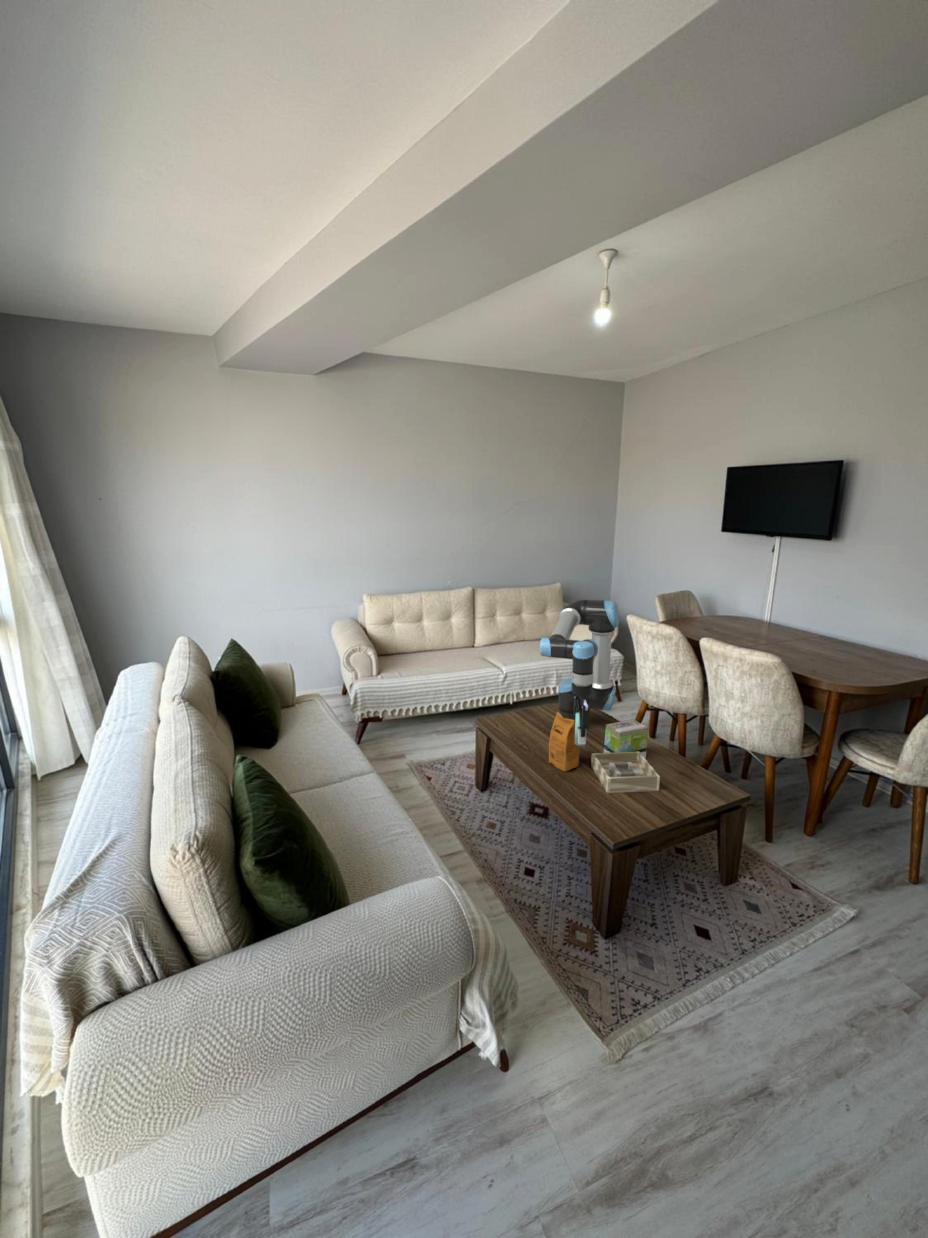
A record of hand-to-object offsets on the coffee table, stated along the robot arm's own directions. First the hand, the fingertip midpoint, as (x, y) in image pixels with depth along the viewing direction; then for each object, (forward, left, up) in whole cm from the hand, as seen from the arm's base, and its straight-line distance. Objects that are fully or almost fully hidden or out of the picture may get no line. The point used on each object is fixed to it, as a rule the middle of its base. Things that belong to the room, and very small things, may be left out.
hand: (580, 740), depth 193 cm
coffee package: (-16, -2, -19) cm, 25 cm away
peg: (0, 0, -1) cm, 1 cm away
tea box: (-20, +26, -19) cm, 38 cm away
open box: (-3, +19, -18) cm, 27 cm away
